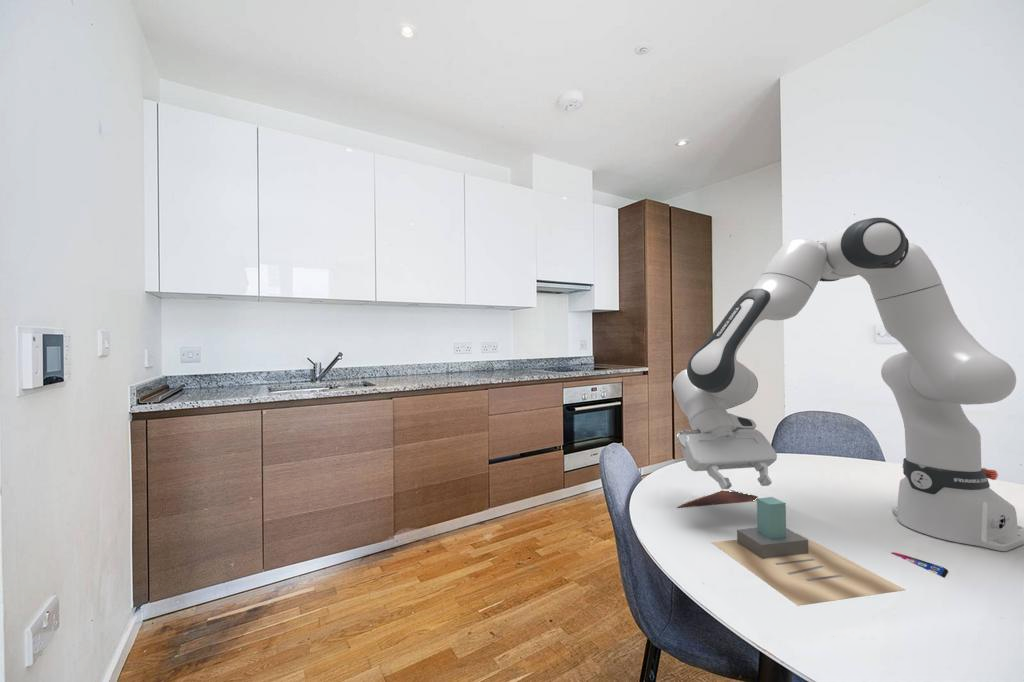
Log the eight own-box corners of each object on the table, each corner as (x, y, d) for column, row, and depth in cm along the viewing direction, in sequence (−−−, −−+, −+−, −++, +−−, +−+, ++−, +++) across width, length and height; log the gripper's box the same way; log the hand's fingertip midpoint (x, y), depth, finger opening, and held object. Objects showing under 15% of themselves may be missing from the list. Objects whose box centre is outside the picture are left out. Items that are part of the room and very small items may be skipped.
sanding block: (780, 537, 78) (780, 492, 78) (808, 553, 72) (807, 504, 72) (737, 542, 76) (736, 496, 76) (761, 558, 70) (760, 509, 71)
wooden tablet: (726, 484, 110) (764, 490, 101) (727, 492, 109) (766, 499, 101) (671, 507, 95) (711, 517, 86) (672, 517, 94) (712, 527, 86)
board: (797, 540, 80) (797, 532, 80) (905, 599, 61) (905, 589, 61) (711, 549, 76) (711, 542, 76) (798, 615, 58) (797, 605, 58)
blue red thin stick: (865, 575, 67) (891, 550, 75) (865, 579, 67) (891, 553, 75) (928, 598, 61) (949, 568, 69) (928, 603, 61) (949, 572, 69)
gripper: (679, 423, 86) (709, 482, 76) (759, 419, 89) (798, 476, 80) (668, 438, 90) (695, 496, 80) (745, 434, 94) (780, 489, 84)
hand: (747, 486), depth 80 cm, fingers open, 8 cm apart
